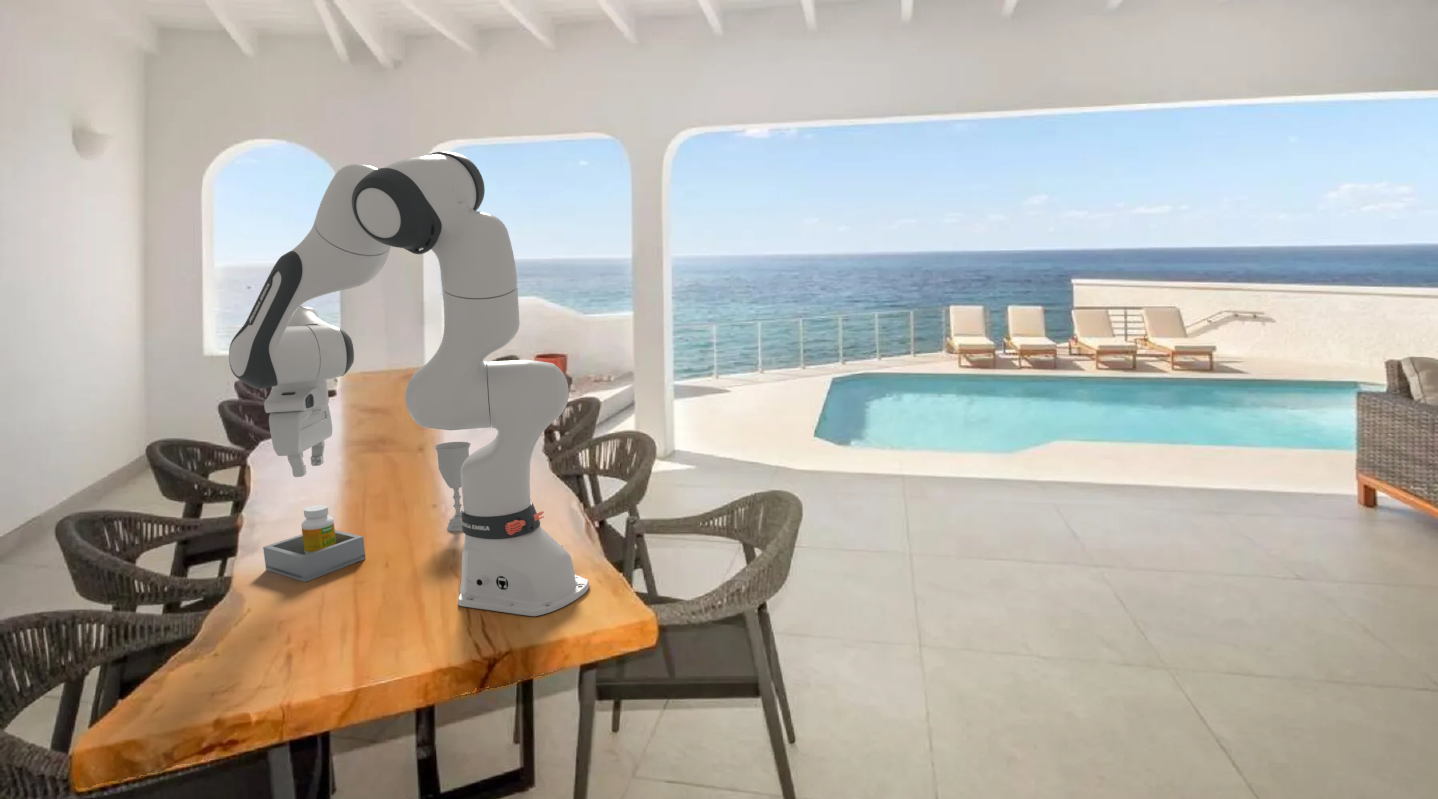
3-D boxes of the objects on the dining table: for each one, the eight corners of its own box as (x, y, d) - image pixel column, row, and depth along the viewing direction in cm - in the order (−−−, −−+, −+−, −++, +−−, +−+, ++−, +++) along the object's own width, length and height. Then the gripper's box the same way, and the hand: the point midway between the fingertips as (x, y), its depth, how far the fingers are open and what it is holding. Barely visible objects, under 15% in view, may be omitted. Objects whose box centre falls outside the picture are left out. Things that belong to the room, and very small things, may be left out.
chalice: (436, 532, 157) (428, 449, 154) (448, 522, 164) (441, 441, 161) (470, 532, 157) (463, 449, 154) (481, 521, 163) (475, 441, 160)
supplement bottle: (327, 562, 139) (321, 512, 137) (299, 562, 139) (293, 512, 138) (343, 551, 144) (337, 503, 143) (316, 551, 145) (310, 503, 143)
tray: (365, 559, 143) (363, 536, 142) (305, 582, 133) (302, 557, 132) (326, 548, 149) (324, 527, 148) (266, 570, 139) (263, 547, 138)
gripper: (302, 390, 146) (309, 460, 148) (259, 404, 126) (268, 484, 128) (337, 388, 147) (344, 457, 149) (300, 402, 127) (308, 481, 129)
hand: (309, 470), depth 138 cm, fingers open, 8 cm apart
